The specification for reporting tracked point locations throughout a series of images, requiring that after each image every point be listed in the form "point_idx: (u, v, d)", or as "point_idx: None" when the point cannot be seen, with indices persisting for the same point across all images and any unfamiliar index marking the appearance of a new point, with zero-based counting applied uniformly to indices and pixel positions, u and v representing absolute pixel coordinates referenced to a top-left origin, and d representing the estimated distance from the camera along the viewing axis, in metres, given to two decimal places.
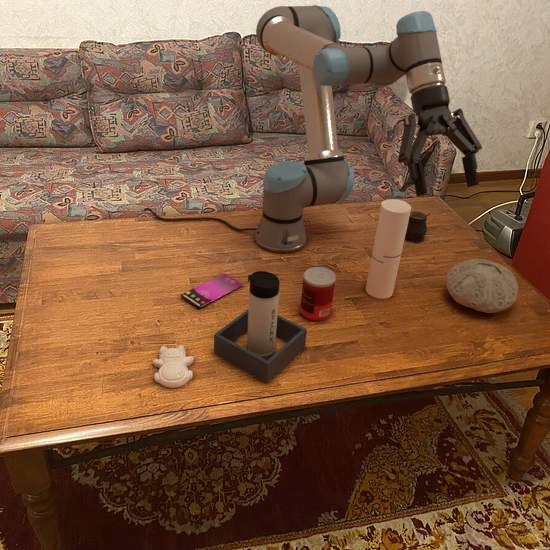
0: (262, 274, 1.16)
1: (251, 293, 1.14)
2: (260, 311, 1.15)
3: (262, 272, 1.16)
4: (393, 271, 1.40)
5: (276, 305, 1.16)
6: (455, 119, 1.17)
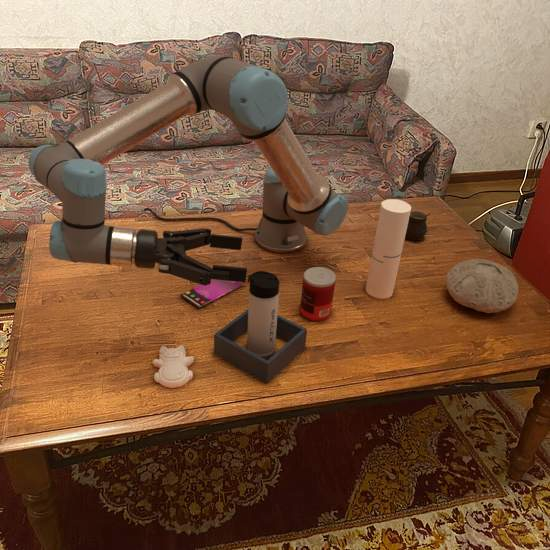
0: (262, 274, 1.16)
1: (251, 293, 1.14)
2: (260, 311, 1.15)
3: (262, 272, 1.16)
4: (393, 271, 1.40)
5: (276, 305, 1.16)
6: None
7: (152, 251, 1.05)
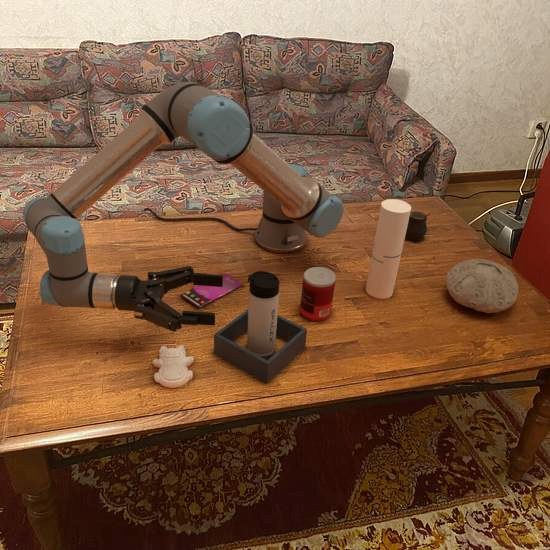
0: (262, 274, 1.16)
1: (251, 293, 1.14)
2: (260, 311, 1.15)
3: (262, 272, 1.16)
4: (393, 271, 1.40)
5: (276, 305, 1.16)
6: None
7: (129, 297, 1.13)
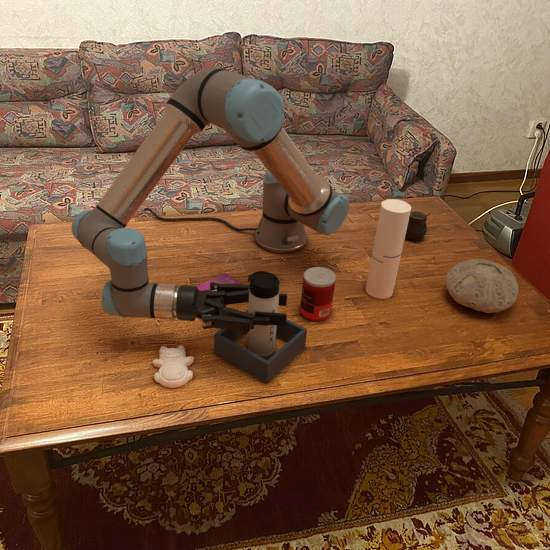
0: (262, 274, 1.16)
1: (251, 293, 1.14)
2: (260, 311, 1.15)
3: (262, 272, 1.16)
4: (393, 271, 1.40)
5: (276, 305, 1.16)
6: None
7: (190, 308, 1.14)
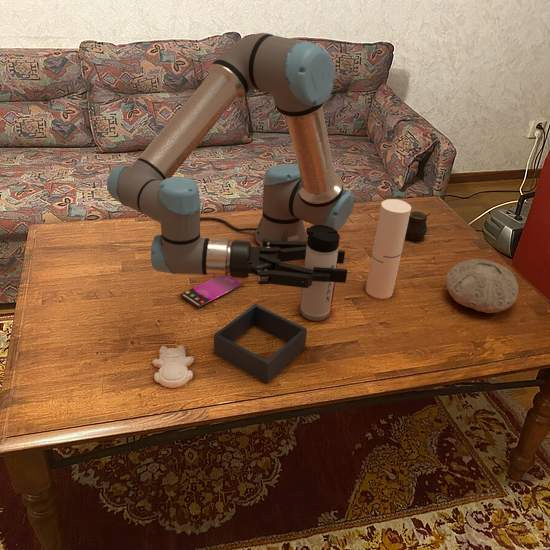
0: (320, 228, 1.09)
1: (310, 247, 1.07)
2: None
3: (320, 226, 1.10)
4: (393, 271, 1.40)
5: (335, 261, 1.09)
6: None
7: (245, 263, 1.08)
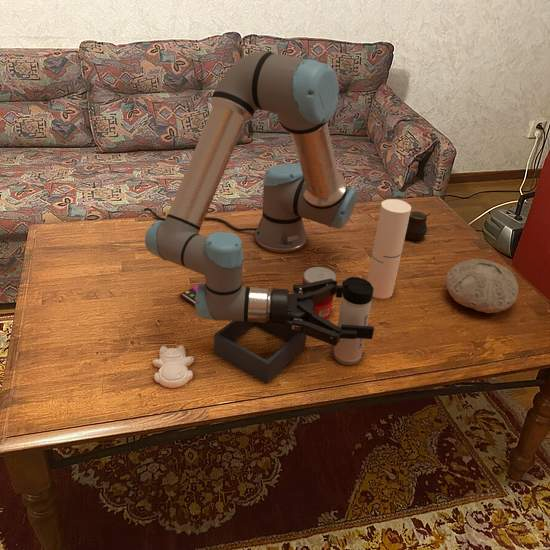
0: (355, 280, 1.16)
1: (345, 299, 1.14)
2: (354, 317, 1.15)
3: (354, 278, 1.16)
4: (393, 271, 1.40)
5: (369, 311, 1.16)
6: None
7: (285, 311, 1.14)
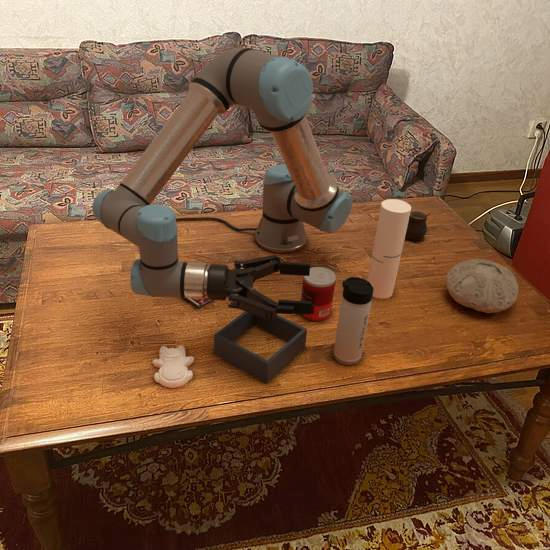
0: (355, 280, 1.16)
1: (345, 299, 1.14)
2: (354, 317, 1.15)
3: (354, 278, 1.16)
4: (393, 271, 1.40)
5: (369, 311, 1.16)
6: None
7: (222, 286, 1.11)
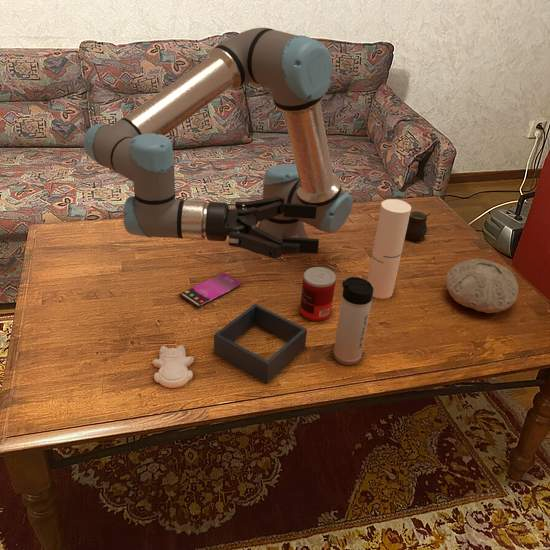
0: (355, 280, 1.16)
1: (345, 299, 1.14)
2: (354, 317, 1.15)
3: (354, 278, 1.16)
4: (393, 271, 1.40)
5: (369, 311, 1.16)
6: None
7: (222, 224, 1.03)
